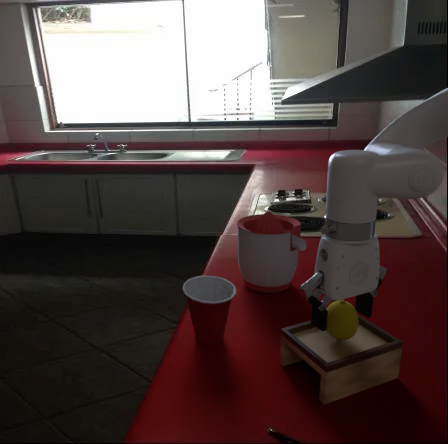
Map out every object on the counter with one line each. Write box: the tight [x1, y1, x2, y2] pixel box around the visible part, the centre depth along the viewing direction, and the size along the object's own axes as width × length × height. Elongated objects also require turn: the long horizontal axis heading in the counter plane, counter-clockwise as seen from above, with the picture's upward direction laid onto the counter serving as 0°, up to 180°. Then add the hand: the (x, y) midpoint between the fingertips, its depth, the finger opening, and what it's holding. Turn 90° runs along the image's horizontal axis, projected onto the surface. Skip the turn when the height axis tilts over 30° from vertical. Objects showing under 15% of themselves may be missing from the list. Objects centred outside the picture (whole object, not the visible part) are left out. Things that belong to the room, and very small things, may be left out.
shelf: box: [279, 314, 404, 405], centre depth 75 cm, size 16×12×7 cm
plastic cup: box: [182, 275, 237, 346], centre depth 86 cm, size 11×11×12 cm
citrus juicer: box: [236, 210, 307, 294], centre depth 106 cm, size 16×17×20 cm
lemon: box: [325, 299, 359, 341], centre depth 73 cm, size 6×6×8 cm
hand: (341, 320), depth 73 cm, fingers open, 9 cm apart
